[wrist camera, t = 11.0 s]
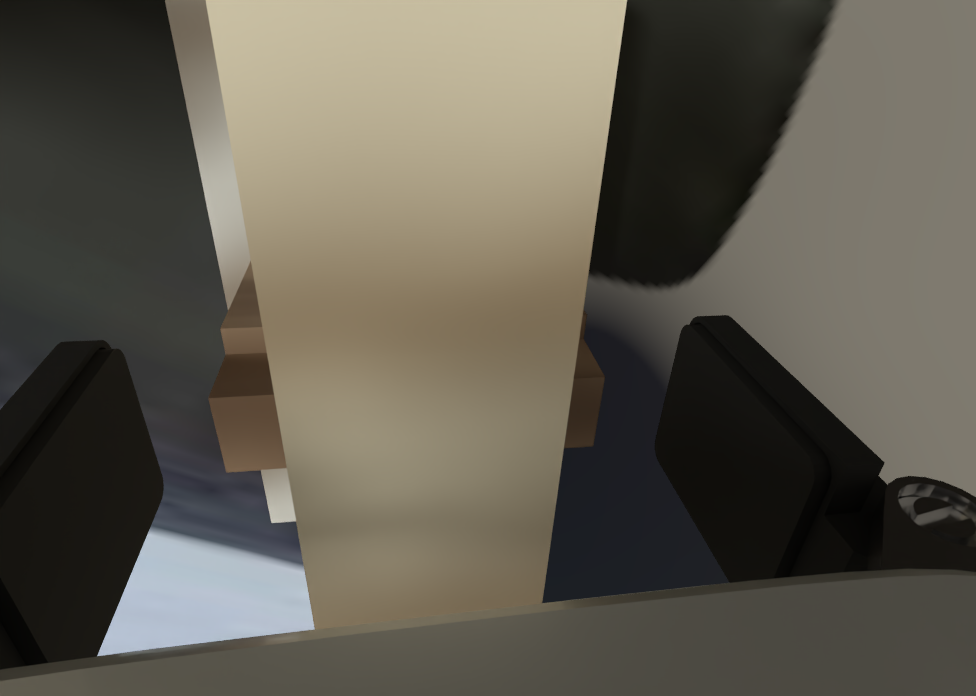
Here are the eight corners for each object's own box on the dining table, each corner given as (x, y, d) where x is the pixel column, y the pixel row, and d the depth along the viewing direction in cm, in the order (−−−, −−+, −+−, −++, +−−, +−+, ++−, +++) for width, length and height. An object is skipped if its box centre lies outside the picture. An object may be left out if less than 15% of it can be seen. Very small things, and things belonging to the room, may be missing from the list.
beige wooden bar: (476, 656, 22) (505, 860, 17) (363, 669, 21) (359, 885, 16) (518, -91, 10) (647, -150, 5) (277, -107, 10) (172, -193, 5)
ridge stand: (538, 476, 29) (587, 629, 22) (276, 497, 27) (242, 671, 20) (594, -11, 18) (719, -3, 12) (174, -31, 17) (36, -35, 10)
